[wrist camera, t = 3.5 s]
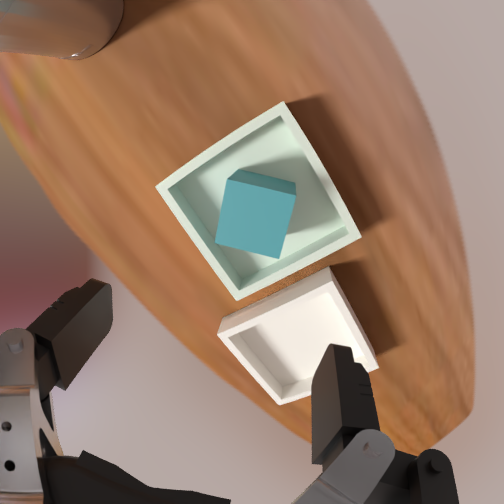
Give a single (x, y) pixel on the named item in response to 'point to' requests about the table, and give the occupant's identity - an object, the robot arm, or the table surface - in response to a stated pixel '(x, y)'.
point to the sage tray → (270, 164)
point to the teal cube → (255, 213)
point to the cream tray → (295, 335)
